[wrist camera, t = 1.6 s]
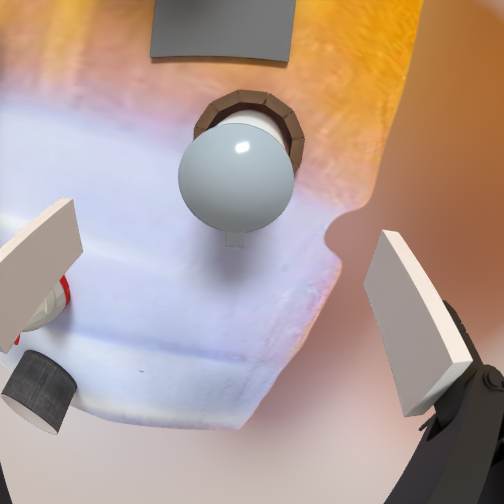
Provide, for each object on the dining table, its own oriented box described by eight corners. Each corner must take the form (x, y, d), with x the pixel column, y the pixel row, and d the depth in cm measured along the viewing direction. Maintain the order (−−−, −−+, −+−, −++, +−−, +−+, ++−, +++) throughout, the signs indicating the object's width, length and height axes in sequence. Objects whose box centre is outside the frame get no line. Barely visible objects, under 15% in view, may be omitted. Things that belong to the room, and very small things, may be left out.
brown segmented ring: (195, 185, 32) (191, 190, 31) (199, 87, 26) (196, 87, 25) (293, 196, 32) (294, 201, 31) (308, 98, 26) (310, 98, 25)
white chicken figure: (45, 239, 38) (-12, 300, 25) (83, 306, 45) (44, 372, 32) (4, 251, 40) (-44, 301, 27) (37, 308, 47) (1, 362, 34)
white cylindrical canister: (216, 104, 27) (179, 120, 16) (288, 112, 27) (302, 131, 16) (210, 203, 33) (180, 270, 22) (275, 210, 33) (276, 282, 22)
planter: (38, 344, 54) (10, 393, 41) (88, 388, 62) (68, 437, 49) (17, 353, 60) (-6, 394, 46) (60, 391, 68) (42, 432, 54)
